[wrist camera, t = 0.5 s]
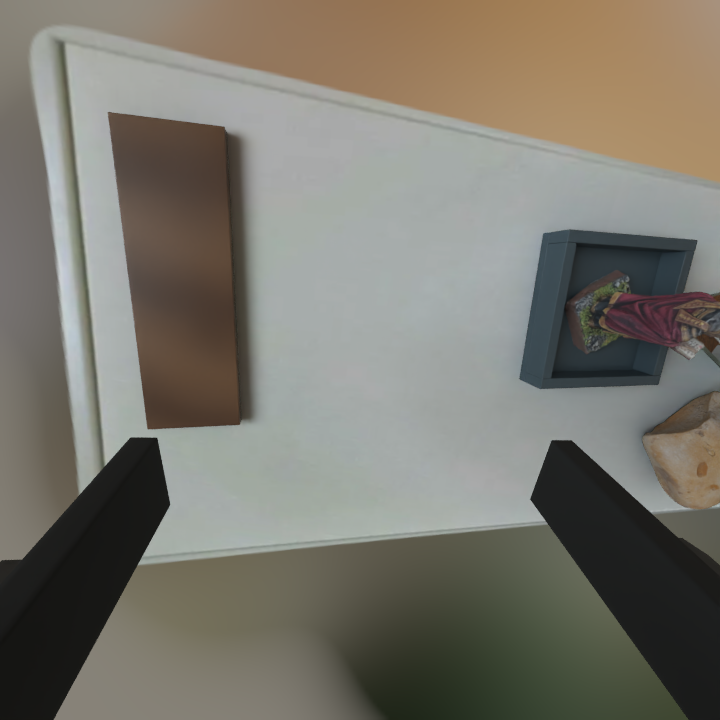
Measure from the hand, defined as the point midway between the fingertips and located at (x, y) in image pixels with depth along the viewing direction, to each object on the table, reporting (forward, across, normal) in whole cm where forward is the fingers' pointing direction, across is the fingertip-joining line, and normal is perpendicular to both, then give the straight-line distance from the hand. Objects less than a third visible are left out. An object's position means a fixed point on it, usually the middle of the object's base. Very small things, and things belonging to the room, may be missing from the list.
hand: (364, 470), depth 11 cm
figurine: (+21, +25, +1) cm, 33 cm away
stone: (+21, +40, -14) cm, 48 cm away
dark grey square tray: (+22, +25, +1) cm, 33 cm away
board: (+18, -12, +2) cm, 22 cm away
